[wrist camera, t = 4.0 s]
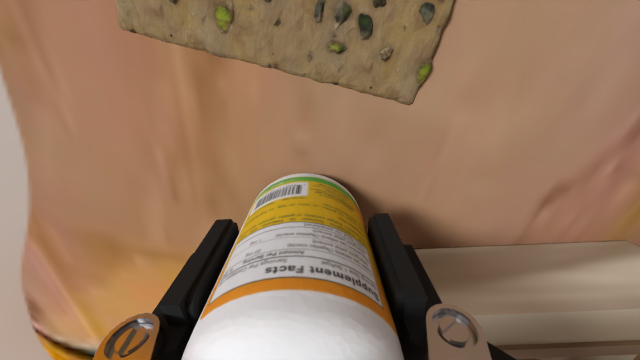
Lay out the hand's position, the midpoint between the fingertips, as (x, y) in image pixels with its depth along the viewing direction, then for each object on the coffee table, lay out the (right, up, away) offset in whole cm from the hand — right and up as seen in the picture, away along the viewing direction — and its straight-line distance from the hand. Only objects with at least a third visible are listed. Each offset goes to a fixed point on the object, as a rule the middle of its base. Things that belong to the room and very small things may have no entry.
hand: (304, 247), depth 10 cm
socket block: (+12, -6, +6) cm, 15 cm away
